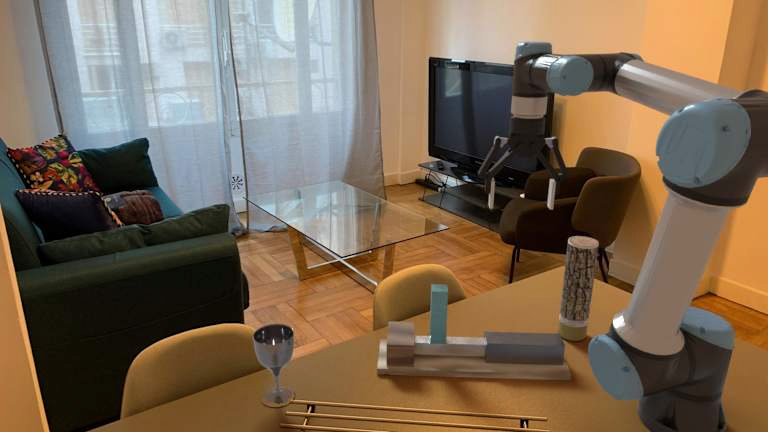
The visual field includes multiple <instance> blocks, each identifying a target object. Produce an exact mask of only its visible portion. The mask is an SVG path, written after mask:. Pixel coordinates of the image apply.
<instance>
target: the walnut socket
mask: <svg viewBox="0 0 768 432" xmlns="http://www.w3.org/2000/svg"><path fill="white" fill-rule="evenodd" d="M387 324H388V325H387V335H386V339H387V366H395V367H414V336H415V322H414V321H388V323H387Z"/></svg>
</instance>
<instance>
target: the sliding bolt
mask: <svg viewBox="0 0 768 432" xmlns="http://www.w3.org/2000/svg"><path fill="white" fill-rule="evenodd" d="M430 286H431V287H430V290H431V291H430V313H429V314H430V315H429V316H430V317H429V318H430V319H429V335H414V354H421V355H454V356H486V340H485V338H484V337H473V336H472V337H471V336H447V327H448V325H447V323H448V301H449V287H448V284H438V283H437V284H436V283H434V284H433V283H430Z"/></svg>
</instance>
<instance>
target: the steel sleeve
mask: <svg viewBox="0 0 768 432" xmlns="http://www.w3.org/2000/svg"><path fill="white" fill-rule="evenodd" d="M483 338H485V340H486V356H484V358H485V363H506V364H538V365H563V359H565V349H566V344H565V342H564V340H563V337H561V335H560V334H559V333H550V332H549V333H547V332H546V333H545V332H513V331H512V332H511V331H484V332H483Z"/></svg>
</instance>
